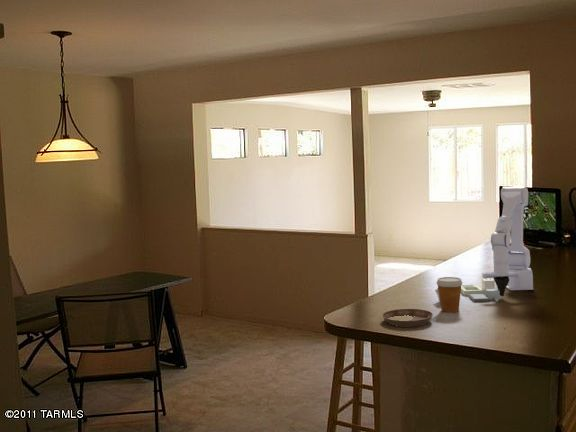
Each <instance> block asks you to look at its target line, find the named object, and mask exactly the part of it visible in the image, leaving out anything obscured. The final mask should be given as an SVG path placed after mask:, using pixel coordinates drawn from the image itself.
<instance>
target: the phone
mask: <svg viewBox="0 0 576 432" xmlns="http://www.w3.org/2000/svg"><path fill="white" fill-rule="evenodd" d="M468 298H469V299H470V300H471V301H472V302H473V301H474V302H473V303H489V302H490V299H489V298H488V297H487V296H486V295H484V294H468Z"/></svg>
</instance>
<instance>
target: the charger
mask: <svg viewBox="0 0 576 432" xmlns="http://www.w3.org/2000/svg"><path fill="white" fill-rule="evenodd" d="M495 284H496V283H495V281H494V279H493V278H485V279H484V278H482V279H481V287H482V288H481V289H483V290H484V295H485V296H486V289H496V287H495Z"/></svg>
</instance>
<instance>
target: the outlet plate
mask: <svg viewBox="0 0 576 432" xmlns="http://www.w3.org/2000/svg"><path fill="white" fill-rule="evenodd" d="M460 294H462V295H463V296H464V295H468V294H484V290H483V289H482V288H481V286H479V285H477V284H462V285H461V293H460Z"/></svg>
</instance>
